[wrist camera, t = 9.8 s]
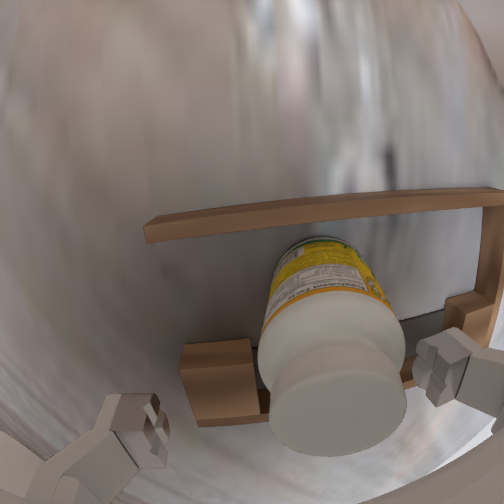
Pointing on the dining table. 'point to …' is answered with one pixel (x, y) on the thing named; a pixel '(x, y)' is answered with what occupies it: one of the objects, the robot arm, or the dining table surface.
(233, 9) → the dining table surface
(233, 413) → the frame
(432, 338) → the robot arm
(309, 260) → the supplement bottle
